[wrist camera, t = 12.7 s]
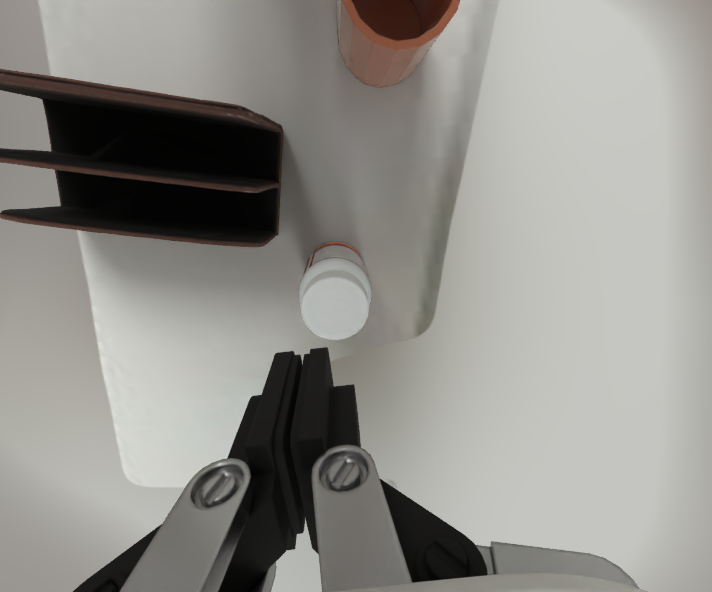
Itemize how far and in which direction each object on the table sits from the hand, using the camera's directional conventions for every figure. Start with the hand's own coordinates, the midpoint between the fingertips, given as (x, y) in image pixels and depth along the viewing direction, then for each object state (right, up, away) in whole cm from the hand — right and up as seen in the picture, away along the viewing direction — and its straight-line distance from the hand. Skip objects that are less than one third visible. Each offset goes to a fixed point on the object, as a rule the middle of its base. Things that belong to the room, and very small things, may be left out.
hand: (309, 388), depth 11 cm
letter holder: (-15, +15, +21) cm, 30 cm away
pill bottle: (-1, +6, +25) cm, 26 cm away
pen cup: (+4, +25, +18) cm, 31 cm away
